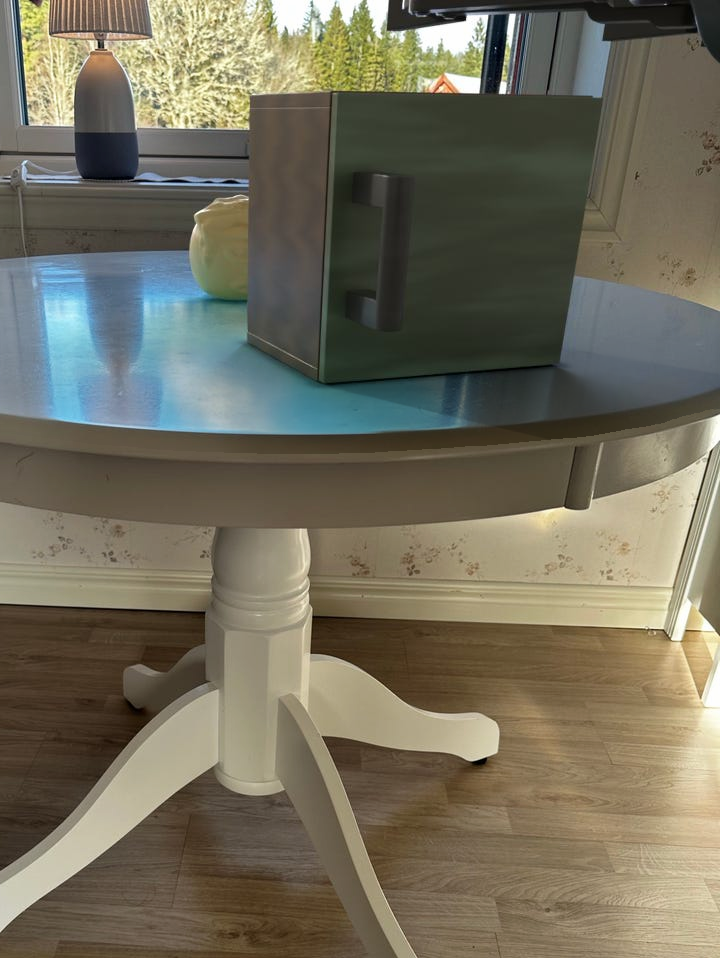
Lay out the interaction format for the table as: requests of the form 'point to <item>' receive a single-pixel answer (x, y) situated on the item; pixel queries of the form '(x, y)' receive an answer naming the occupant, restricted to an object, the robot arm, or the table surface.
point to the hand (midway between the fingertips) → (507, 6)
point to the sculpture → (221, 248)
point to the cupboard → (292, 221)
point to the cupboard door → (451, 231)
